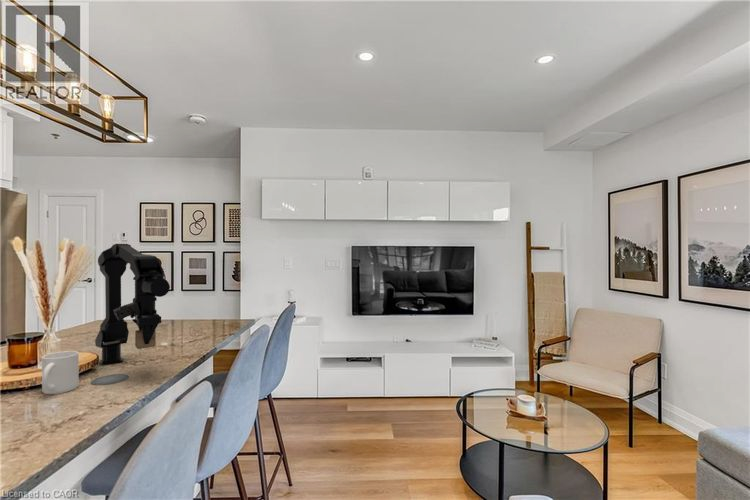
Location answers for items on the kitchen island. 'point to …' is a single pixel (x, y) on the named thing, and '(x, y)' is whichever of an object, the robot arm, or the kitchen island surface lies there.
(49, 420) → the kitchen island surface
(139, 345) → the walnut block
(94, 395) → the kitchen island surface
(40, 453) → the kitchen island surface
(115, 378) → the slate coaster
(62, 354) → the mug
